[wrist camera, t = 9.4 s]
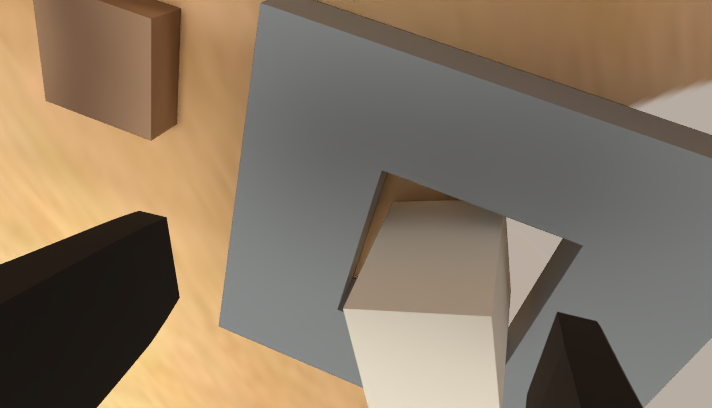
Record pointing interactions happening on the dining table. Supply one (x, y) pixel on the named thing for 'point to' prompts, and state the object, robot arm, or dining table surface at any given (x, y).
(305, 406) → the dining table surface
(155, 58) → the short block
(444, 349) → the peg
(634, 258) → the board
